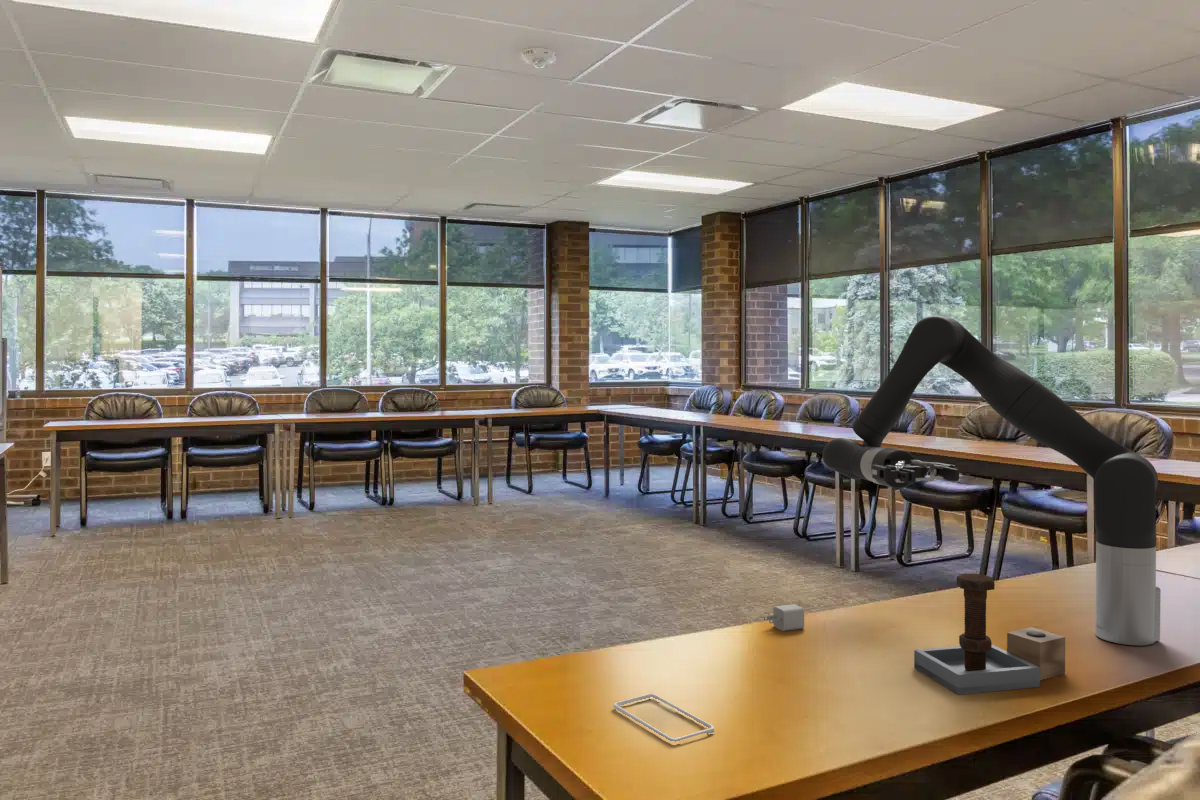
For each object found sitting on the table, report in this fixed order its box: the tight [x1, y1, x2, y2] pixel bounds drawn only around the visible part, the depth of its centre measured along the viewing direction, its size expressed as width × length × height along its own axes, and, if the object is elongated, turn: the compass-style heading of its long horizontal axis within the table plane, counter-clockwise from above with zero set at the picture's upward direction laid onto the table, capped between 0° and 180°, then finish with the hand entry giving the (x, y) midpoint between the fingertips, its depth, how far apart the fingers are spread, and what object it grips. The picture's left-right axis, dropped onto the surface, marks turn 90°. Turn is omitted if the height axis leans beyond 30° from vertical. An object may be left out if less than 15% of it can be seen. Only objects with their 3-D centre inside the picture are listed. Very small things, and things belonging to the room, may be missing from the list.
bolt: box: [956, 573, 996, 671], centre depth 137 cm, size 6×5×15 cm
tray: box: [913, 644, 1041, 696], centre depth 137 cm, size 14×12×3 cm
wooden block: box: [1006, 626, 1066, 681], centre depth 139 cm, size 6×6×6 cm
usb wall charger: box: [763, 603, 805, 632], centre depth 164 cm, size 4×7×4 cm, turn 109°
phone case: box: [613, 693, 715, 742], centre depth 122 cm, size 7×1×15 cm
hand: (935, 476), depth 154 cm, fingers open, 8 cm apart
